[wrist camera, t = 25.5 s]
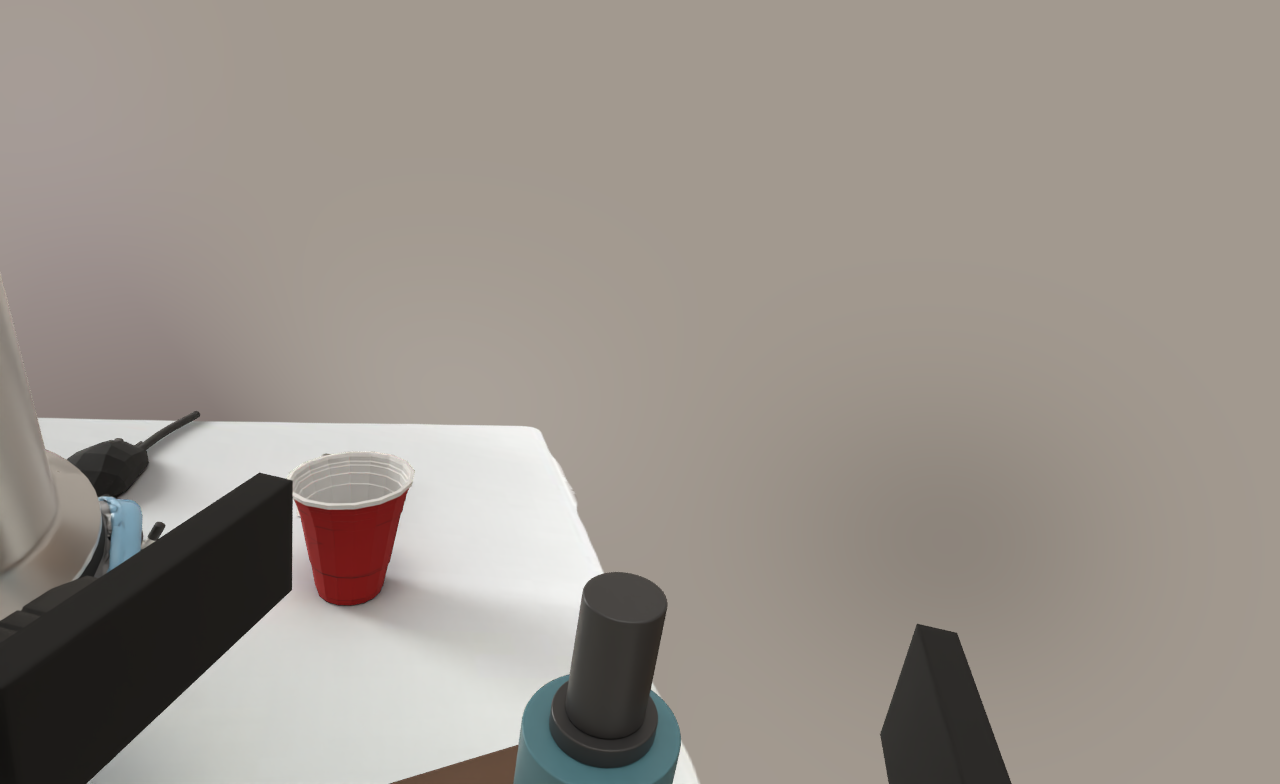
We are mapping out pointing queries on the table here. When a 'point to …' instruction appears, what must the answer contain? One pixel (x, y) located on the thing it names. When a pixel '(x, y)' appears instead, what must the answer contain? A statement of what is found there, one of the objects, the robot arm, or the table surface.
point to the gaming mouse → (111, 465)
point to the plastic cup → (350, 520)
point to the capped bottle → (605, 696)
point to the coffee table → (473, 770)
